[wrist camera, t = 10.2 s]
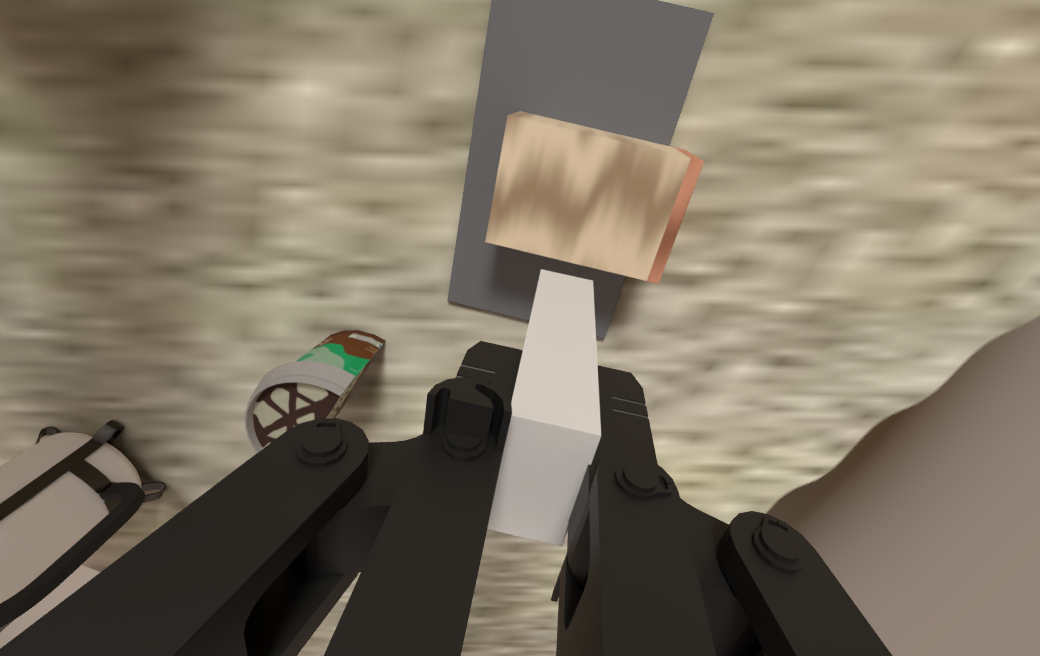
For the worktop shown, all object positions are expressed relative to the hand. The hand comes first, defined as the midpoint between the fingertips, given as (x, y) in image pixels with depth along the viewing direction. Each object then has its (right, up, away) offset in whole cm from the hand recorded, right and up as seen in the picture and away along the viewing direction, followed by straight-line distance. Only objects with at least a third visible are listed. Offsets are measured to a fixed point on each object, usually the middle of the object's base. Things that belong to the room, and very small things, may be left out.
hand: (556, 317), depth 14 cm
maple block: (+9, +7, +19) cm, 22 cm away
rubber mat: (+2, +11, +22) cm, 25 cm away
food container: (-19, -3, +32) cm, 37 cm away
